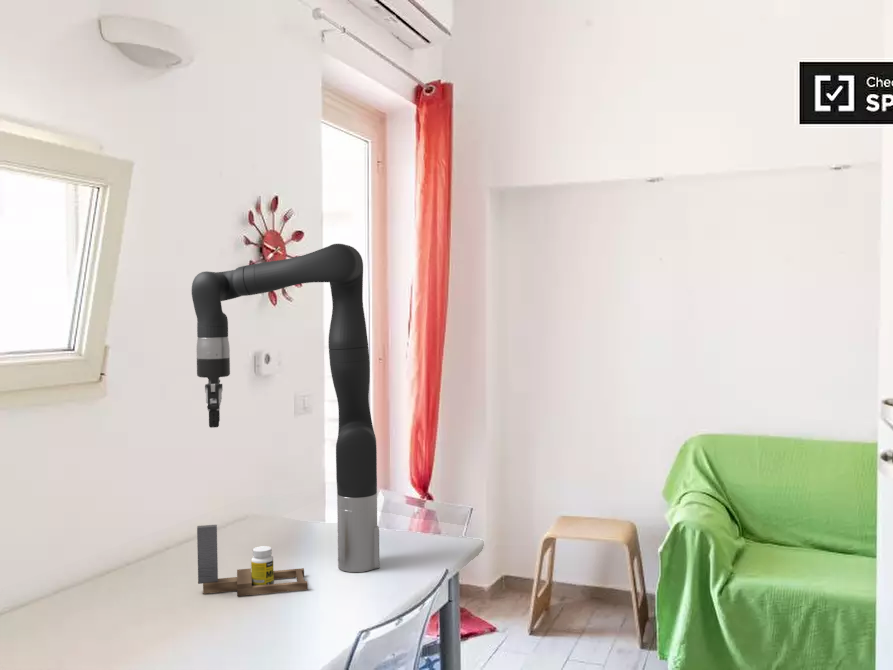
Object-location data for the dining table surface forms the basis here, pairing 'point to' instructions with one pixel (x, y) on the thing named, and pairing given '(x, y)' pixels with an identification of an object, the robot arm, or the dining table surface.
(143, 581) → the dining table surface
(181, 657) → the dining table surface
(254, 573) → the supplement bottle
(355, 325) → the robot arm
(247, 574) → the strip frame
